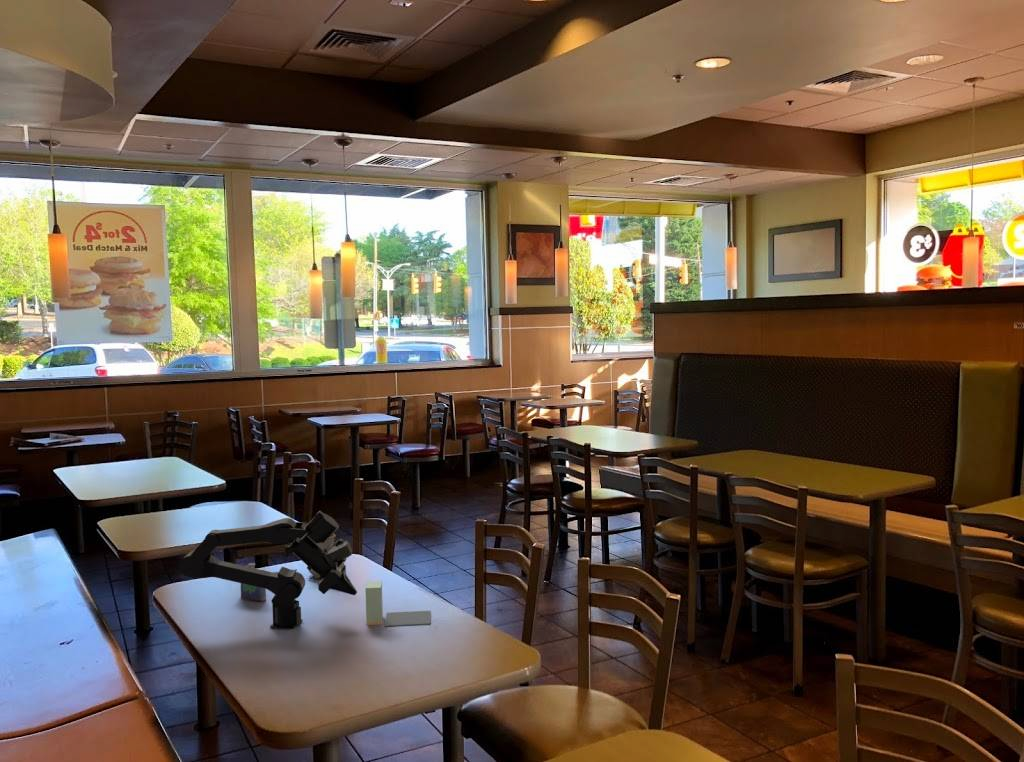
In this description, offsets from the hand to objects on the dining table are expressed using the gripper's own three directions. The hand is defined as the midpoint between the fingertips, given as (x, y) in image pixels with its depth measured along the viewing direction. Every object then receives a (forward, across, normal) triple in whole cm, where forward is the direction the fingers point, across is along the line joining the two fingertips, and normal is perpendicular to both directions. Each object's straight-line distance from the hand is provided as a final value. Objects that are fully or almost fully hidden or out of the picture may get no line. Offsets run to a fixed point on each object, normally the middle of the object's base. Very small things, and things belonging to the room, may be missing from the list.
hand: (355, 593), depth 230 cm
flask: (-17, +24, +28) cm, 40 cm away
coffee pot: (-2, +40, +13) cm, 42 cm away
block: (+9, 0, +2) cm, 9 cm away
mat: (+15, 0, -4) cm, 16 cm away
